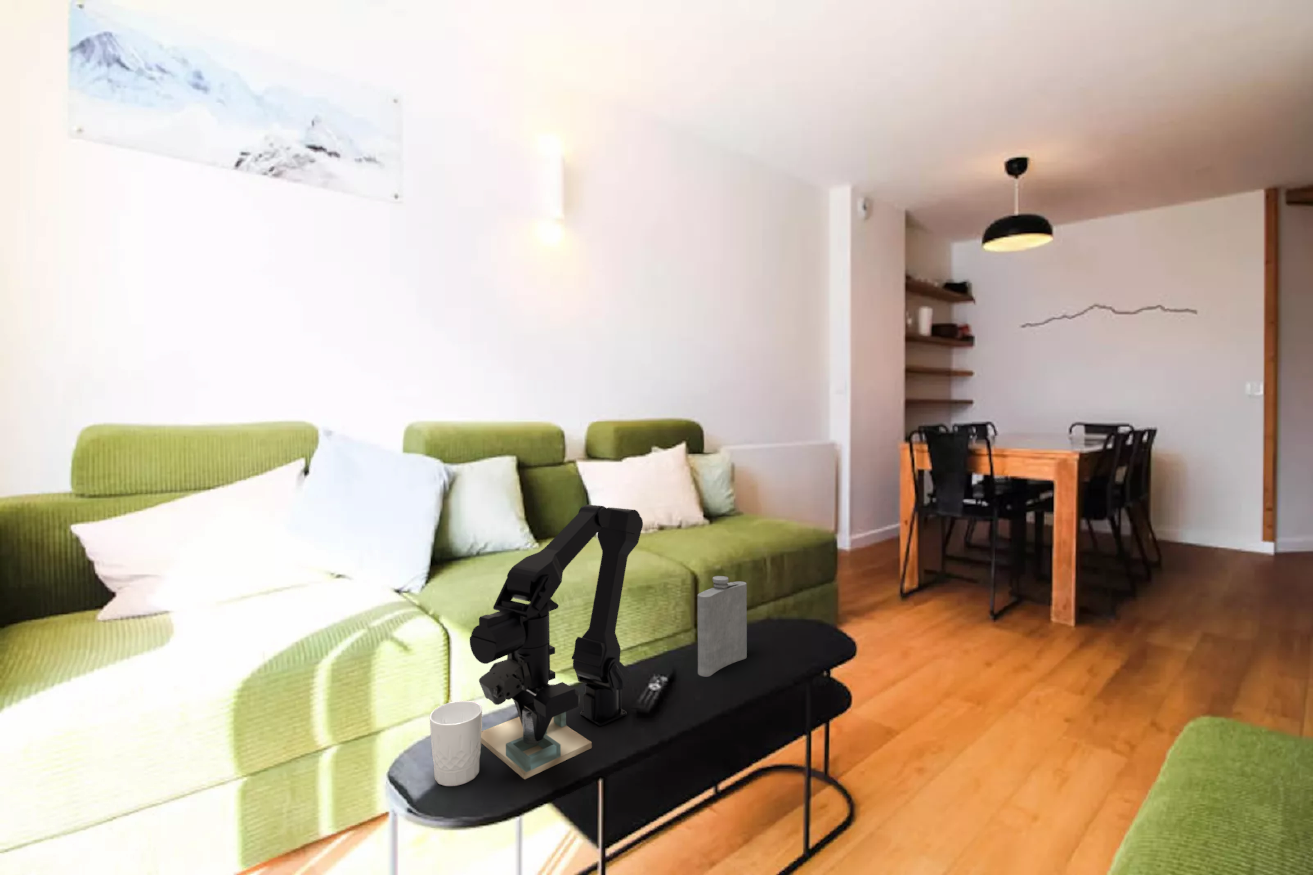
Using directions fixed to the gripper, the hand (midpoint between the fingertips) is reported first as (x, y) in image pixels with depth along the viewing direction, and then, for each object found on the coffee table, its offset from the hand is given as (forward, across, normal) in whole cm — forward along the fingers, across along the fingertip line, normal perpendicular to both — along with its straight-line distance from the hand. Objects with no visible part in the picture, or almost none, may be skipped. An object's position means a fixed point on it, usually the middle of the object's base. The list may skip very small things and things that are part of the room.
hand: (533, 736), depth 98 cm
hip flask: (+5, -4, +52) cm, 52 cm away
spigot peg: (0, 0, 0) cm, 1 cm away
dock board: (+4, -5, +3) cm, 7 cm away
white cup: (+4, -6, -11) cm, 13 cm away
